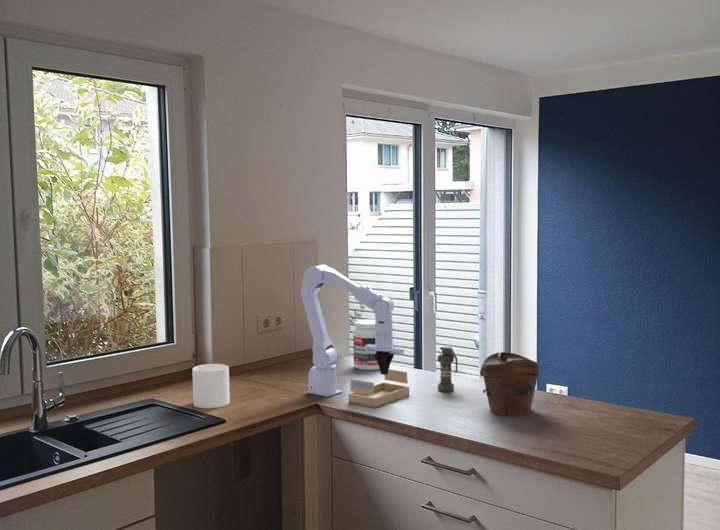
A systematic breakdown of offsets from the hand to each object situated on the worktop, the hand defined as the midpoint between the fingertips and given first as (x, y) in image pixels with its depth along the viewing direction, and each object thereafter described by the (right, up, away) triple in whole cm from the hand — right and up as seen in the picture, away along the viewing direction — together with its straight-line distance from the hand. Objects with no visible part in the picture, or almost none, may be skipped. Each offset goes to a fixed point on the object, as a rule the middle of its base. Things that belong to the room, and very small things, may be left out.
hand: (384, 374), depth 242 cm
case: (+38, -9, -16) cm, 43 cm away
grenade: (+22, -7, +8) cm, 25 cm away
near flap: (-7, -3, -9) cm, 12 cm away
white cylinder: (-57, -9, -4) cm, 58 cm away
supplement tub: (-4, -5, +46) cm, 46 cm away
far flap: (+4, -1, +5) cm, 7 cm away
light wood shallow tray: (-2, -8, -2) cm, 8 cm away
